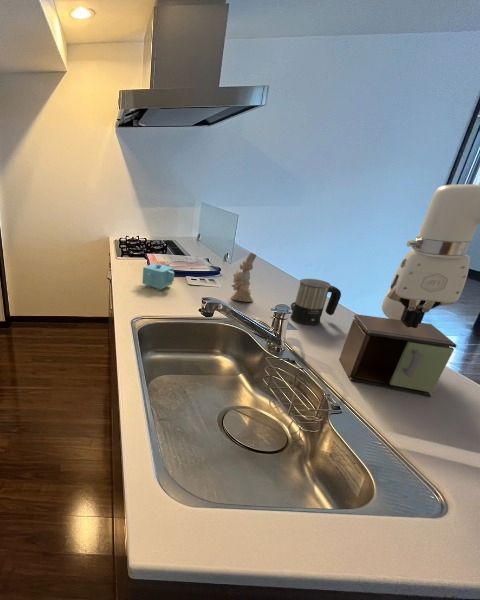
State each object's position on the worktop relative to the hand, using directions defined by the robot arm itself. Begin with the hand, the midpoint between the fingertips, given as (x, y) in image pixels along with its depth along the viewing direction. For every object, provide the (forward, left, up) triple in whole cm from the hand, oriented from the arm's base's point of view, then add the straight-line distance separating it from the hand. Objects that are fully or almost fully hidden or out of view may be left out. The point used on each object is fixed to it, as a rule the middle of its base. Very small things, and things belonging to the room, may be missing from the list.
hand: (408, 324), depth 74 cm
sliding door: (-7, -1, -18) cm, 19 cm away
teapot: (+67, -56, -19) cm, 90 cm away
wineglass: (-9, -26, -19) cm, 33 cm away
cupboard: (-3, -9, -19) cm, 21 cm away
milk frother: (+10, -44, -19) cm, 49 cm away
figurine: (+31, -53, -19) cm, 64 cm away
